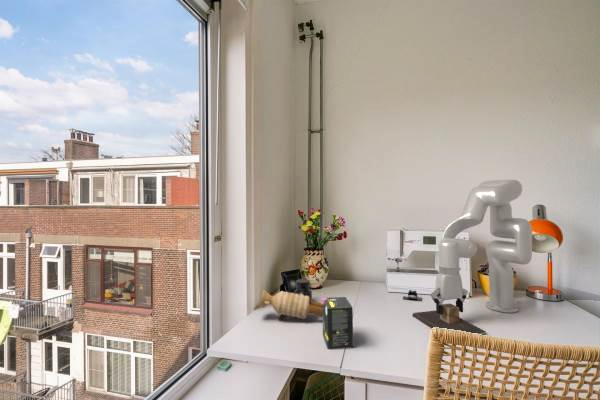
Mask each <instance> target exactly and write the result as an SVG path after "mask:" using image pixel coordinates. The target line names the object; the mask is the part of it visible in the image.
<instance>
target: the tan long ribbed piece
mask: <svg viewBox="0 0 600 400" xmlns="http://www.w3.org/2000/svg"><path fill="white" fill-rule="evenodd" d="M309 299H310V298H309V296H304V295H299V294H294V292H289V291H283V290H281V291H279V292H277V293H276V294H274V295H271V294H270V293H269V292H268V291H267V290H265V289H262V292H261V296H260V300H259V307H258V308H259V309H261V308H266V307H267V306H269V305H271V306H272V308H273V310H274V311H275V312H276V313H277V314H278V315H279V320H278V321H280V322H285V318H286V316H288V317H290V316H291V317H293V318H294V317H295V318H297V320H299V319H302V320H306V319H307V318H308V314H311V315H316V316H320V317H323V302H317V301H313V300H312V301H311V300H309Z"/></svg>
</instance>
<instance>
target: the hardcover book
mask: <svg viewBox="0 0 600 400" xmlns="http://www.w3.org/2000/svg"><path fill="white" fill-rule="evenodd" d="M412 317H413V318H415V319H417V320H418V321H419V322H421V323H423V325H426V326H427V327H428V328H430V329H432V328H433V327H439V328H447V329H454V330H461V331H466V332H471V333H478V334H484V335H485V334H486V333H487V331H485V330H484V329H482V328H480V327H478V326H476V325H474V324H472V323H471V322H469V321H467V320H465V319H462V318H461V317H459V323H451V324H449V323H447V322H445V321H443V320H441V319H440V314H438V313H437V312H436V310H428V311H418V312H413V313H412Z"/></svg>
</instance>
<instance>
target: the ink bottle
mask: <svg viewBox="0 0 600 400" xmlns="http://www.w3.org/2000/svg"><path fill="white" fill-rule="evenodd" d="M310 283H311V281H310V280H309V279H306V278H299V279H296V280H295V288H296V289H295V290H294V291H293V293H294V294H299V295H304V296H309V298H310V299H309V300H311V301H313V293H312V290H311V289H310V288H311V284H310Z"/></svg>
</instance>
